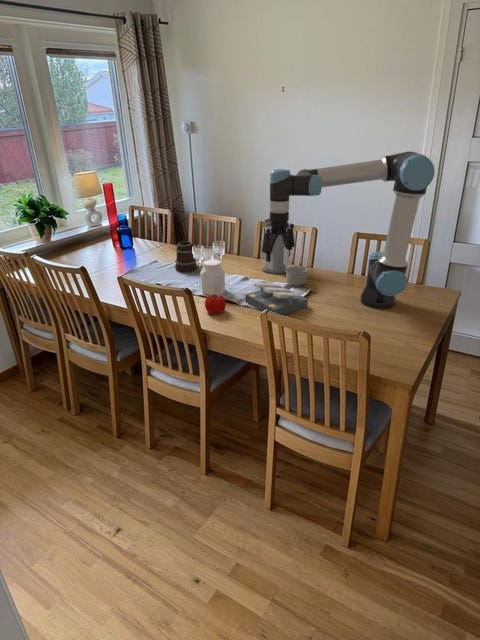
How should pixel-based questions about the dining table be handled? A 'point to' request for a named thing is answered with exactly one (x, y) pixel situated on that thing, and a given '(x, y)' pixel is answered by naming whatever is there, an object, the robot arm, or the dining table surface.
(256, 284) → the rocker
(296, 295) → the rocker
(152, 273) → the dining table surface
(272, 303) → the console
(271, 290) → the rocker
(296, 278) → the teacup
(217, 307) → the tomato
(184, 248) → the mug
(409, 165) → the robot arm
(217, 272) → the jar
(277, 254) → the vase
